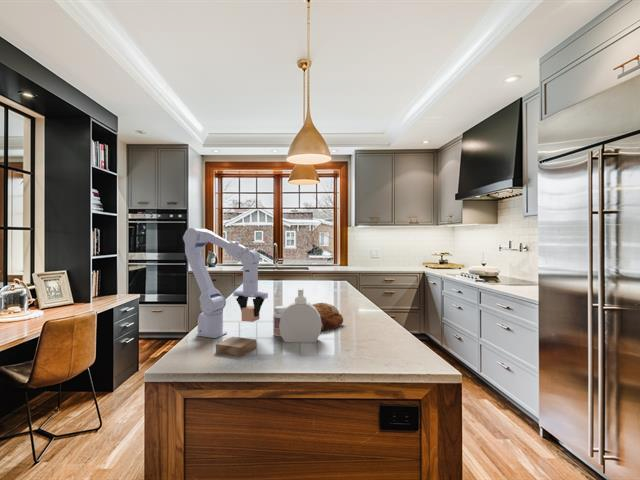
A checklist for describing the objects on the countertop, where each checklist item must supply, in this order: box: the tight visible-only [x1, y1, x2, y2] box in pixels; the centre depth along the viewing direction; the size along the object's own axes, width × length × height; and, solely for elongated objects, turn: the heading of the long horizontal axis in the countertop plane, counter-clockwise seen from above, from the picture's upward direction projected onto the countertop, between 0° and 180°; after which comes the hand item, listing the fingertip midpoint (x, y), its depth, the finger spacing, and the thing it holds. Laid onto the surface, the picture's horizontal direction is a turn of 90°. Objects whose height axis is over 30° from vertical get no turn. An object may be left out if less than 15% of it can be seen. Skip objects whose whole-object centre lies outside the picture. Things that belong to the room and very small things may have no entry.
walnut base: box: [215, 336, 257, 357], centre depth 130 cm, size 10×10×3 cm
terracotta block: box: [240, 305, 260, 323], centre depth 145 cm, size 5×5×5 cm
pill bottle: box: [273, 305, 287, 337], centre depth 150 cm, size 6×6×11 cm
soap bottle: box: [279, 288, 321, 344], centre depth 141 cm, size 16×5×20 cm, turn 89°
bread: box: [312, 302, 344, 332], centre depth 164 cm, size 20×18×10 cm
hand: (250, 315), depth 145 cm, fingers closed on terracotta block, 5 cm apart
